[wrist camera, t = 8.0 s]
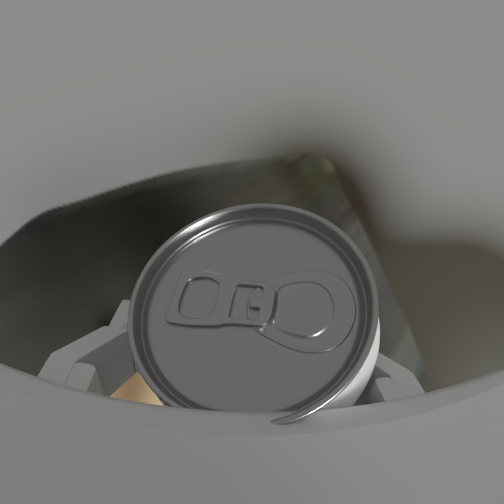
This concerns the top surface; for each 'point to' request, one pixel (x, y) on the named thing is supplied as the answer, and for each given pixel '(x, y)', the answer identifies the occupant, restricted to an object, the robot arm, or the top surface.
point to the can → (256, 314)
